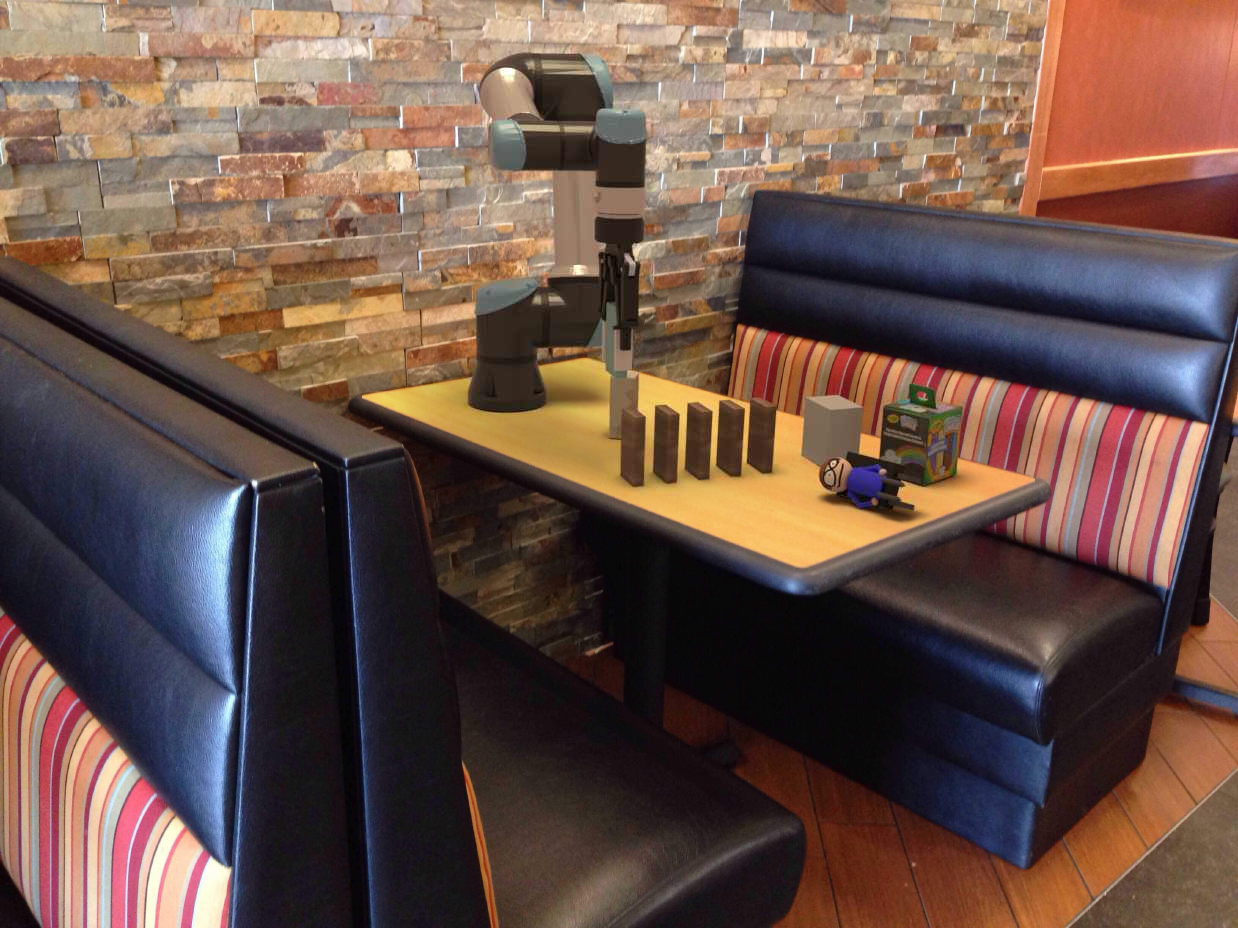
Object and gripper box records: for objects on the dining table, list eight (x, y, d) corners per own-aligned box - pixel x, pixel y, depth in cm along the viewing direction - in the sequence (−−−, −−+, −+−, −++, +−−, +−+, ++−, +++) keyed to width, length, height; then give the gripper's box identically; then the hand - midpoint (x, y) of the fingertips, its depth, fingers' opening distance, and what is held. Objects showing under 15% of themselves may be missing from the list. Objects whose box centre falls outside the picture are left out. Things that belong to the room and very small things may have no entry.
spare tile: (616, 378, 171) (617, 308, 167) (605, 370, 176) (606, 302, 172) (627, 377, 171) (628, 307, 168) (616, 370, 176) (617, 301, 173)
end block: (801, 455, 184) (805, 397, 181) (832, 451, 186) (837, 394, 183) (825, 469, 177) (830, 410, 174) (857, 466, 179) (863, 407, 176)
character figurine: (900, 526, 155) (811, 500, 165) (926, 510, 160) (838, 486, 170) (904, 475, 152) (813, 452, 162) (930, 460, 157) (840, 438, 167)
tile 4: (730, 476, 173) (734, 409, 170) (715, 466, 178) (719, 400, 175) (741, 475, 174) (745, 408, 170) (725, 465, 179) (729, 399, 175)
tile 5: (762, 473, 175) (766, 407, 171) (746, 463, 180) (750, 398, 176) (772, 472, 175) (776, 406, 172) (756, 462, 180) (760, 397, 177)
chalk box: (957, 476, 176) (968, 386, 171) (923, 487, 170) (934, 395, 165) (909, 461, 182) (918, 374, 178) (874, 472, 177) (883, 382, 172)
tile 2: (666, 483, 169) (668, 414, 166) (652, 472, 174) (655, 405, 171) (676, 482, 170) (679, 413, 167) (663, 471, 175) (665, 404, 172)
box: (632, 440, 190) (634, 378, 187) (608, 438, 191) (609, 376, 188) (638, 432, 195) (639, 371, 192) (614, 430, 196) (615, 369, 192)
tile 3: (698, 480, 171) (701, 412, 168) (684, 469, 176) (687, 402, 173) (709, 479, 172) (712, 411, 168) (694, 468, 177) (697, 402, 173)
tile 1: (632, 486, 168) (634, 417, 164) (620, 475, 173) (621, 407, 169) (643, 485, 168) (645, 416, 165) (630, 474, 173) (632, 407, 170)
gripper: (578, 210, 173) (577, 354, 180) (614, 222, 156) (611, 380, 164) (624, 210, 176) (621, 352, 183) (663, 221, 159) (659, 377, 166)
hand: (616, 365), depth 173 cm, fingers closed on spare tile, 6 cm apart
